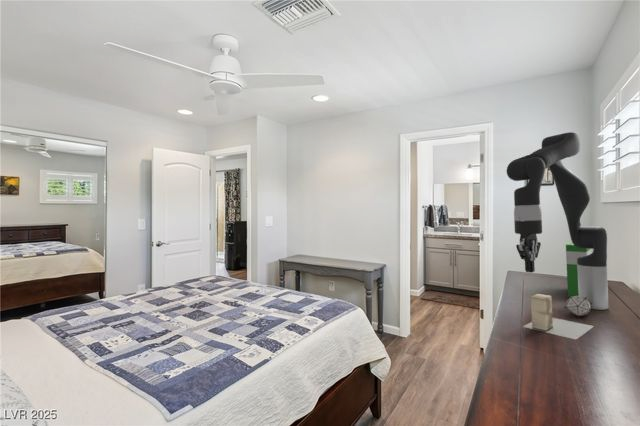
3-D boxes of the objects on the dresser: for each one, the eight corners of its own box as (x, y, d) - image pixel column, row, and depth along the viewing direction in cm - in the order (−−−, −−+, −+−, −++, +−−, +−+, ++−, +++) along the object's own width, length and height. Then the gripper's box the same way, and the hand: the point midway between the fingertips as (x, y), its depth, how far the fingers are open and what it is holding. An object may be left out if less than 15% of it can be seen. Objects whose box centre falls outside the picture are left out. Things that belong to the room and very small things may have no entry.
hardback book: (574, 288, 158) (572, 241, 159) (593, 291, 153) (591, 242, 153) (568, 295, 146) (565, 244, 146) (588, 298, 141) (586, 245, 141)
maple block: (539, 324, 110) (538, 293, 110) (552, 328, 107) (551, 295, 107) (532, 328, 106) (530, 296, 107) (545, 332, 103) (544, 298, 103)
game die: (585, 327, 117) (604, 310, 111) (561, 318, 118) (578, 301, 113) (578, 309, 124) (594, 292, 118) (555, 301, 126) (570, 284, 120)
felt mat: (543, 316, 119) (543, 315, 119) (594, 327, 107) (594, 326, 107) (522, 327, 109) (522, 326, 109) (576, 340, 97) (575, 339, 97)
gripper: (523, 218, 109) (526, 268, 109) (506, 220, 102) (508, 273, 101) (549, 218, 103) (551, 270, 103) (531, 219, 96) (534, 276, 95)
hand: (529, 271), depth 102 cm, fingers closed
